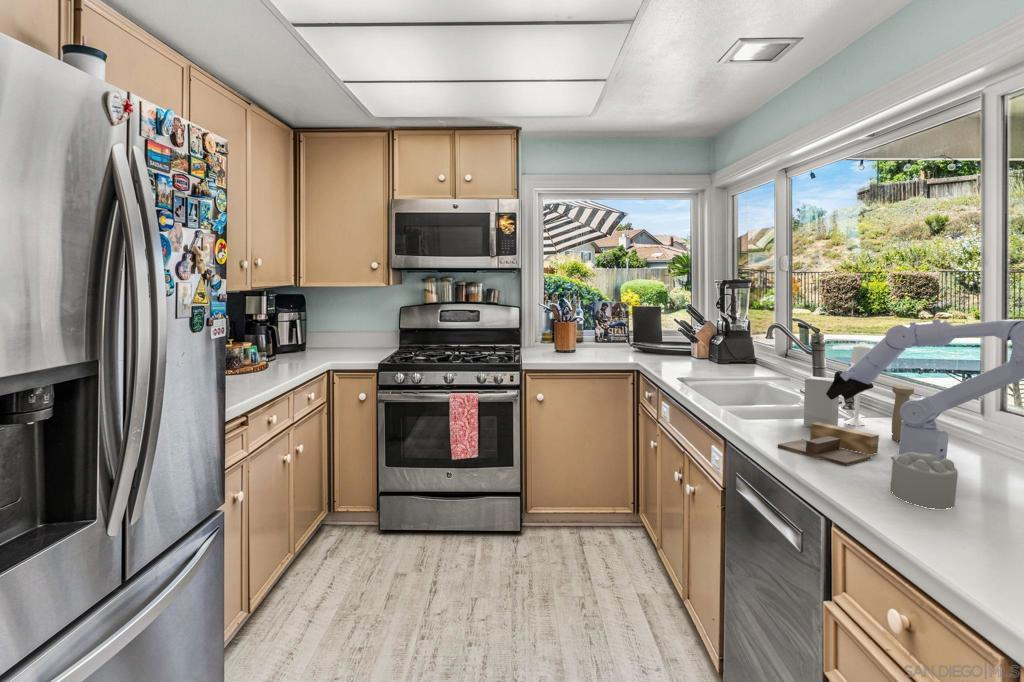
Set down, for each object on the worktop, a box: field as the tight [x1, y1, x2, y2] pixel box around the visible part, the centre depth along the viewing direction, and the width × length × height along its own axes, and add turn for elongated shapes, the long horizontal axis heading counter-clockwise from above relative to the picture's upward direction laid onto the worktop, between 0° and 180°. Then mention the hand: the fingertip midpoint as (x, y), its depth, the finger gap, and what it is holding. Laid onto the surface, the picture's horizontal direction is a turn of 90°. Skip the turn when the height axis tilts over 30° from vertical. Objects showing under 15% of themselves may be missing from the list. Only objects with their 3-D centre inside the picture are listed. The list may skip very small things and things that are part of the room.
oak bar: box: [809, 422, 880, 456], centre depth 163 cm, size 16×4×5 cm, turn 34°
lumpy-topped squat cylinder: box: [890, 452, 959, 509], centre depth 125 cm, size 10×13×9 cm
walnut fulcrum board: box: [777, 436, 871, 467], centre depth 157 cm, size 18×11×4 cm, turn 33°
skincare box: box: [803, 375, 840, 427], centre depth 185 cm, size 8×6×15 cm
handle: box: [891, 384, 915, 441], centre depth 171 cm, size 5×6×15 cm
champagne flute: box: [843, 345, 873, 426], centre depth 189 cm, size 7×7×24 cm
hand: (836, 396), depth 166 cm, fingers open, 7 cm apart
